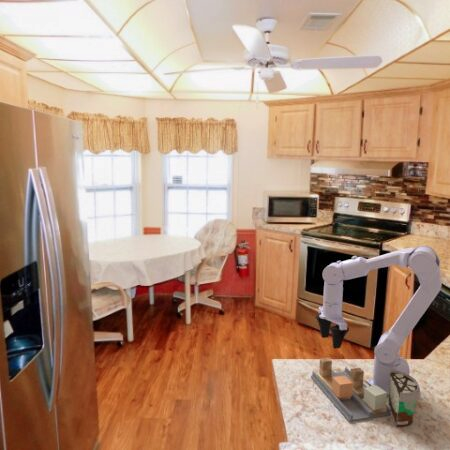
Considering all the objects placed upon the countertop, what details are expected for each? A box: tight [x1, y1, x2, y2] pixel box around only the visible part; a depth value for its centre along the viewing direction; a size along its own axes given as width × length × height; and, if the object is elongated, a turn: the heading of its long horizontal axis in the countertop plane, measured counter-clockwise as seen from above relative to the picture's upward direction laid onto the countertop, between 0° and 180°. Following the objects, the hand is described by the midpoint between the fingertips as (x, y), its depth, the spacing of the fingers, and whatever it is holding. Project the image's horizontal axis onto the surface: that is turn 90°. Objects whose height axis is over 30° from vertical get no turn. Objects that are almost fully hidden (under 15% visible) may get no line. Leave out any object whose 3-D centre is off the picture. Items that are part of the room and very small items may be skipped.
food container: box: [387, 370, 421, 428], centre depth 100 cm, size 12×6×10 cm, turn 168°
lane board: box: [310, 366, 392, 423], centre depth 110 cm, size 12×22×2 cm, turn 13°
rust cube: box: [332, 376, 353, 398], centre depth 108 cm, size 4×4×4 cm
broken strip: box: [350, 367, 387, 414], centre depth 106 cm, size 4×12×6 cm, turn 13°
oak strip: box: [316, 357, 351, 400], centre depth 112 cm, size 4×12×6 cm, turn 13°
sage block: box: [363, 385, 388, 410], centre depth 103 cm, size 4×4×4 cm
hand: (330, 342), depth 122 cm, fingers open, 7 cm apart
